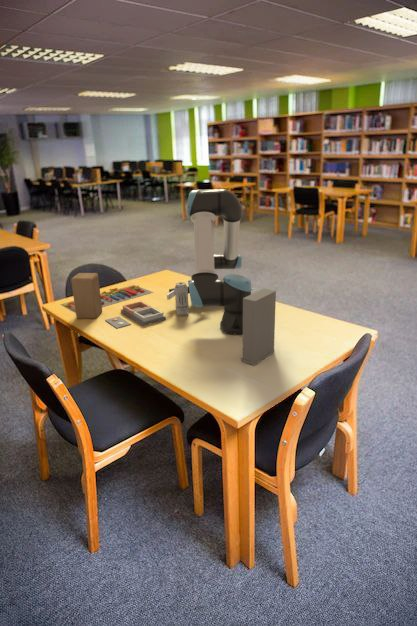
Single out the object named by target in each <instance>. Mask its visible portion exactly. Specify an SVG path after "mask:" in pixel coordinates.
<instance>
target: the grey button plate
mask: <svg viewBox="0 0 417 626" xmlns="http://www.w3.org/2000/svg"><path fill="white" fill-rule="evenodd" d="M105 322H106V323H108V324H109V325H111V326H113V328H115V329H120V328H124V327H126V326H127V327H128V326H131V325H132V323H130V322H129V321H127V320H126V319H124V318H123V317H121V316H114V317H111V318H107V319H105Z"/></svg>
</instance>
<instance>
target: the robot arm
mask: <svg viewBox="0 0 417 626" xmlns="http://www.w3.org/2000/svg"><path fill="white" fill-rule="evenodd" d="M186 211H187V214H186V215H187V217H189V218H190V221H191V222H192V223H193V233H194V234H193V237H194V240H193V241H194V243H193V245H194V247H193V248H194V272H193V274H192V275H191V277H190V278H191V279H188V280H187V287H188V295H189V297H190V304H191V306H193V307H195V308H210V307H211V308H213V307H214V308H215V307H216V308H218V307H220V308H221V307H222V308H223V314H222V317H221V321H220V324H219V325H220V326H219V327H220V328H219V329H220V330H221V331H222V332H223V333H226V334H228V335H234V336H235V335H238V336H239V335H243V298H245V297H247V296H249V295H251V294H252V292H253V291H252V290H253V289H252V282H251V280H250V279H249V278H248V277H247V276H244V275H239V274H234V273H233V274H231V273H230V274H225V275H224V276H223V278H221V279H220V278H219V275H218V273H217V272H216V271H215V270H238V269H239V270H240V269H241V268H242V265H243V264H242V262H243V261H242V260H243V259H242V255H241V254H239V245H240V244H239V243H240V225H241V223H240V222H241V220H242V218H243V207H242V203H241V201H240V200H239V198H238V197H237V196H236V195H235V193H233V192H232V191H230V190H229V189H224V188H220V189H215V188H214V189H201V188H200V189H193V190H192V189H191V190H190V192H189V193H188V198H187V210H186ZM218 217H221V218H222V219H223V254H215V243H214V242H215V239H214V237H215V236H214V223H215V222H216V221H217V218H218ZM174 297H175V287H173V288H169V289H168V293H167V294H166V300H167V301H170V300H171V299H172V298H174Z"/></svg>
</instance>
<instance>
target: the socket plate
mask: <svg viewBox="0 0 417 626" xmlns="http://www.w3.org/2000/svg"><path fill="white" fill-rule="evenodd" d="M120 313H121V314H122V315H124V316H126V317H128V318H129V319H131V320H133V321H134V322H135V323H138V324H139V325H141V326H143V327H145V326H147V325H151V324H154V323H159V322H162V321H165V320H167V319H166V318H167V317H166V316H165V315H164V312H162V311H161V310H159V309H157V308H155V307H153V306H151V305H149V304H148V303H146V302H144V301H141V300H140V301H136V302H132V303H127V304H122V309H121V308H120Z"/></svg>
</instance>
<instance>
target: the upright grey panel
mask: <svg viewBox="0 0 417 626" xmlns="http://www.w3.org/2000/svg"><path fill="white" fill-rule="evenodd" d="M276 293H277V291H276V290H273V289H267V288H262V289H260V290H257V291H255V292H254V293H251V295H249V296H247V297H245V298H243V334H242V353H241V354H242V357H240V361H241V362H242V363H246V364H249V365H252V366H256V365H257V364H258V363H260V362H261V361H263V360H264V359H266V358H267V357H269V356H271V355H272V354H274V353H275V330H276V329H275V328H276V327H275V326H276V298H277V297H276V295H277V294H276Z"/></svg>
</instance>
